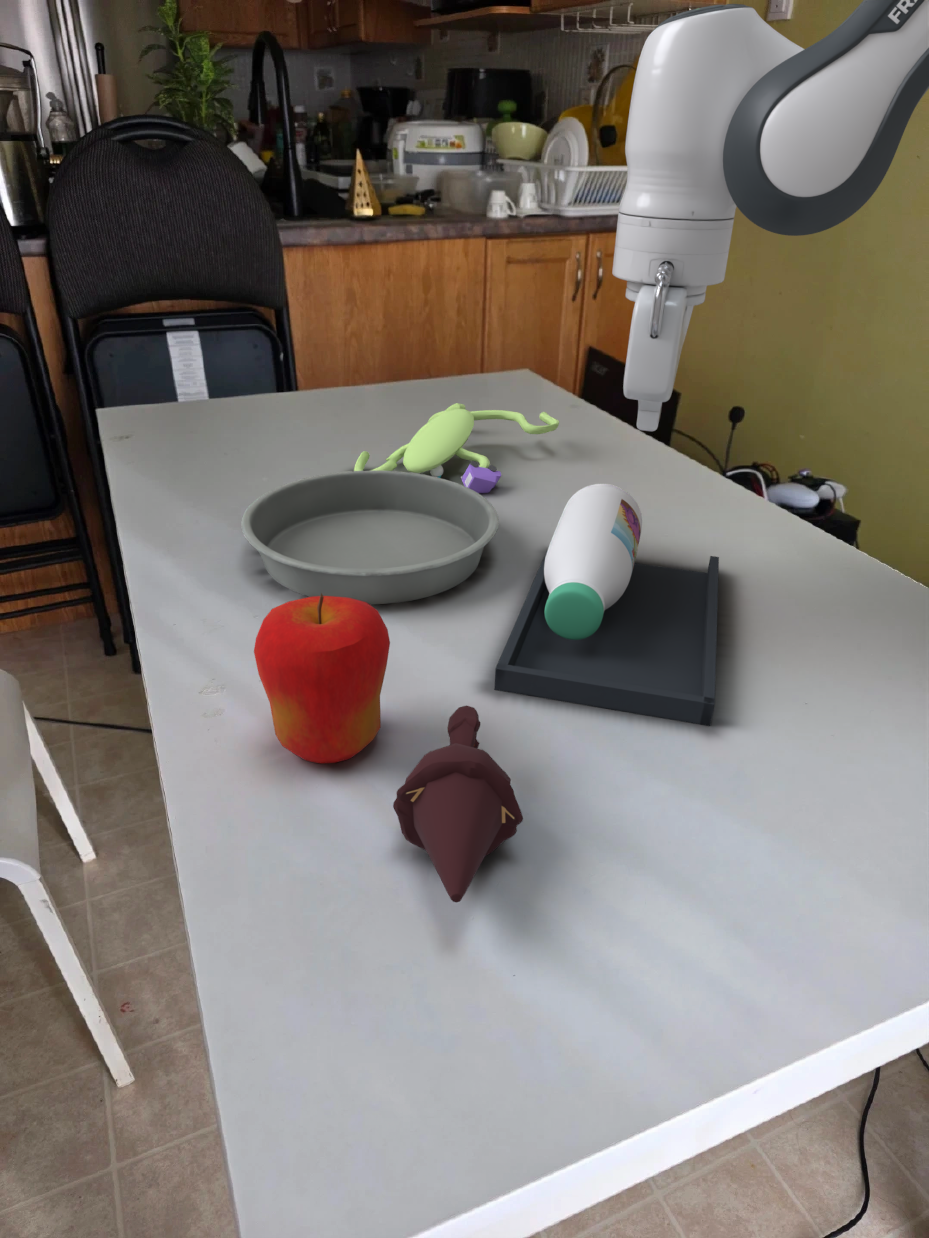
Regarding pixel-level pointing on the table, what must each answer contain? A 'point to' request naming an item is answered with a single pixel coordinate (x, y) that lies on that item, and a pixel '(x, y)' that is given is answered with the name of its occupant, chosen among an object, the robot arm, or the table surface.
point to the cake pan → (370, 534)
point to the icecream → (458, 805)
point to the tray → (625, 648)
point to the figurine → (454, 445)
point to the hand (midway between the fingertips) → (647, 426)
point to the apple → (323, 675)
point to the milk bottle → (590, 558)
